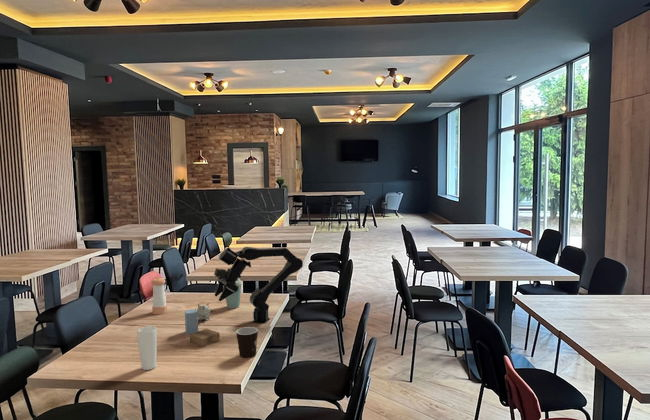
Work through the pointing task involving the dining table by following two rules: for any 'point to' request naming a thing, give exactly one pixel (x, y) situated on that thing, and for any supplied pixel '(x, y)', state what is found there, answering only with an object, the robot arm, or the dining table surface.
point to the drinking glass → (147, 346)
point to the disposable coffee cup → (234, 297)
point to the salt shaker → (159, 296)
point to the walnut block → (204, 337)
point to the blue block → (191, 321)
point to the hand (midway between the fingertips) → (217, 298)
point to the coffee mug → (247, 341)
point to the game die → (203, 312)
